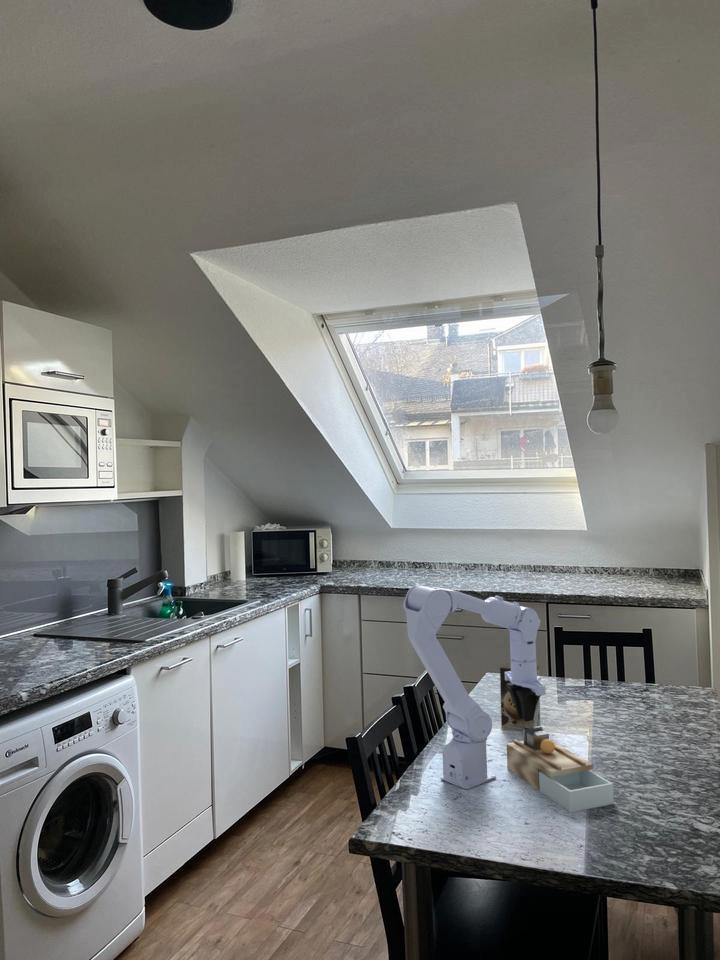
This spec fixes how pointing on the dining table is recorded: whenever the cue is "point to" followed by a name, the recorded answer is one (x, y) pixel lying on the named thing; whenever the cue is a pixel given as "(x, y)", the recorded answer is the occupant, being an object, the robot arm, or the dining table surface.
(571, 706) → the dining table surface
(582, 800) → the open box
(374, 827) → the dining table surface
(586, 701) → the dining table surface
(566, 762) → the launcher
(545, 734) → the brushed steel stepped cube
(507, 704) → the coffee box
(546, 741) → the ball
